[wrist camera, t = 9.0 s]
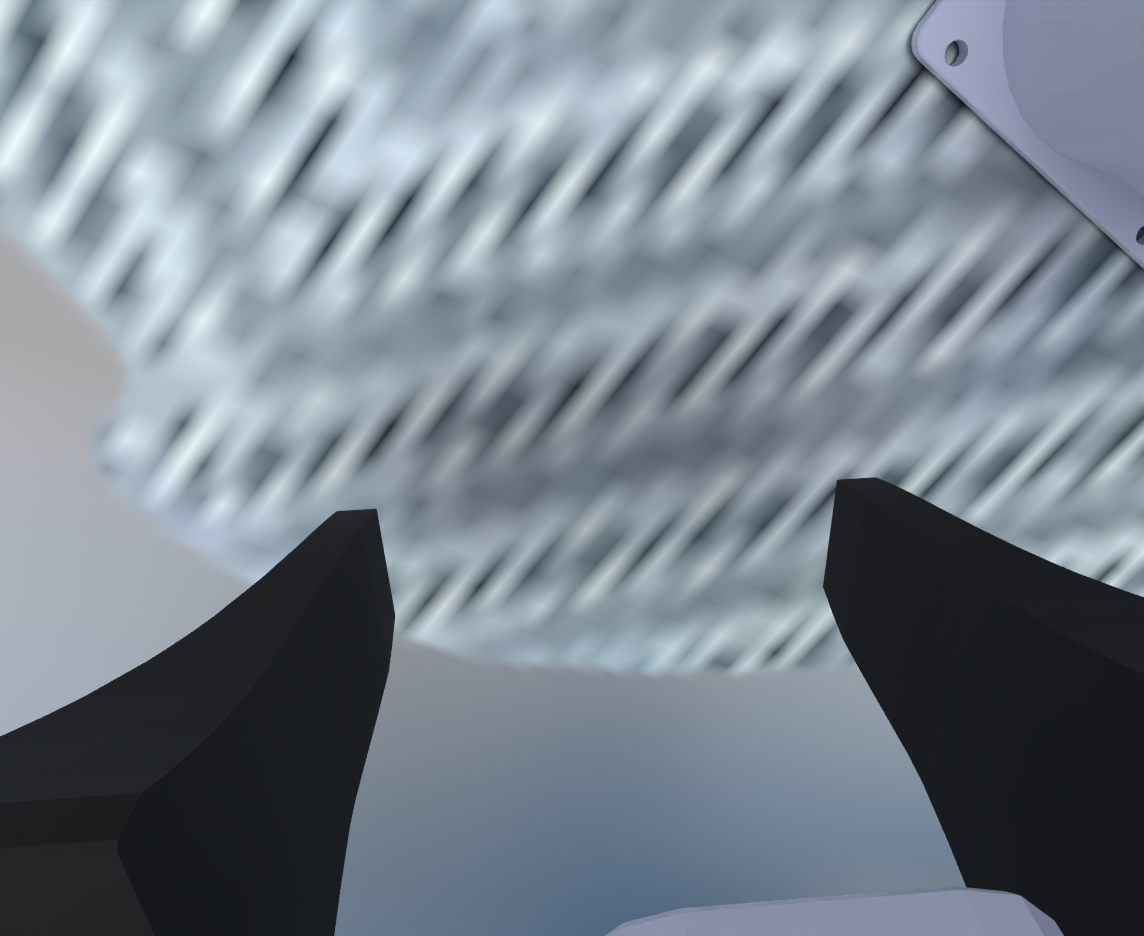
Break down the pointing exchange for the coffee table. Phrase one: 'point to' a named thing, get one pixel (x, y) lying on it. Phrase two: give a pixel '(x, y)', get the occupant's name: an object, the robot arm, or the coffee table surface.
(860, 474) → the coffee table surface
